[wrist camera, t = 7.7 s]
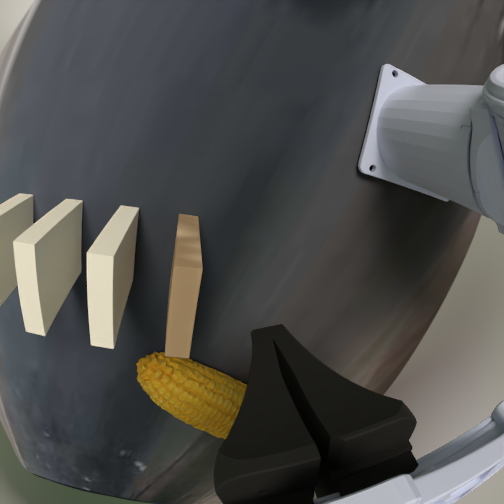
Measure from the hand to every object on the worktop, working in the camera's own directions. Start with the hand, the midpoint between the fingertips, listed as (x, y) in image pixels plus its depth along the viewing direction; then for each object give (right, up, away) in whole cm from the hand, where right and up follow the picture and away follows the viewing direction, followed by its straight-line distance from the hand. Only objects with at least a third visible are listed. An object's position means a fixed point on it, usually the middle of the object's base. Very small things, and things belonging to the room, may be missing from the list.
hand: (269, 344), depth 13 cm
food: (-2, -9, +14) cm, 17 cm away
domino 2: (-12, +5, +5) cm, 14 cm away
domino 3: (-9, +4, +6) cm, 12 cm away
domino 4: (-5, +4, +7) cm, 10 cm away
